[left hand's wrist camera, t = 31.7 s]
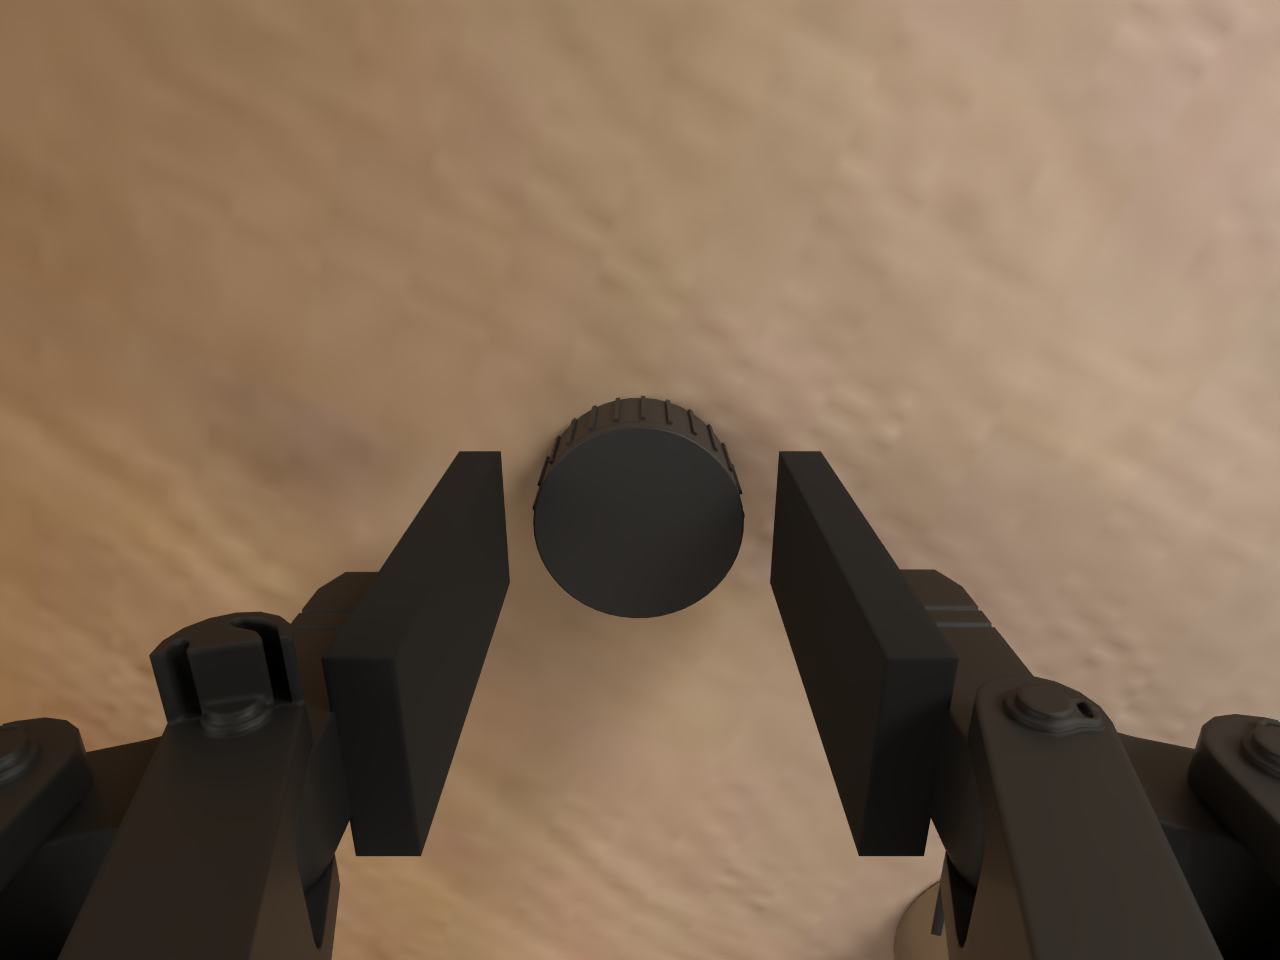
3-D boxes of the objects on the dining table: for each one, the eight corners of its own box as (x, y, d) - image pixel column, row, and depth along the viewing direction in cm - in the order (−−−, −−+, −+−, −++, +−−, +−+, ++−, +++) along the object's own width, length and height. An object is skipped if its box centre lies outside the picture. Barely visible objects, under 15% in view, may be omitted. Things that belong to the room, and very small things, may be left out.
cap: (542, 389, 15) (528, 418, 13) (743, 398, 15) (757, 428, 14) (542, 569, 17) (530, 616, 15) (726, 575, 17) (737, 625, 15)
